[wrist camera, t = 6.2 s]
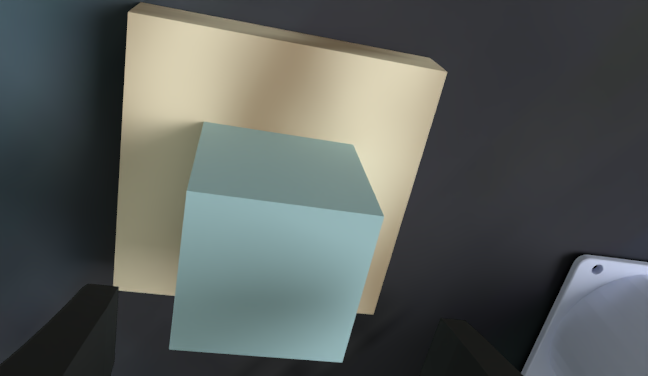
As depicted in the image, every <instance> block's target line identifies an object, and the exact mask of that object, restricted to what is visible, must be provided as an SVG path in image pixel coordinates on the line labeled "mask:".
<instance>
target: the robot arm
mask: <svg viewBox="0 0 648 376" xmlns="http://www.w3.org/2000/svg"><path fill="white" fill-rule="evenodd" d="M596 265H597V267H596V268H594V269H592V268H593V267H594V266H596ZM118 291H119V287H117V286H107V285H97V284H87V285H85V286H84V287H82V288H81V289H80V291H79V292H78V293H77V294H76V295H75V296H74V297H73V298H72V299H71V300H70V301H69V302H68V303H67V304H66V305H65V306H64V307H63V308H62V309H61V310H60V311H59V312H58V313H57V314H56V315H55V316H54V317H53V318H52V319H51V320H50V321H49V322H48V323H47V324H46V325H45V326H43V327H42V328H41V329H40V330H39V331H38V332H37V333H36V334H35V335H34V336H32V337H31V338H30V339H29V340H28V341H27V342H26V343H25V344H24V345H23V346H21V347H20V348H19V349H18V350H17V351H16V352H15V353H14V354H12V355H11V356H10V357H9V358H7V359H6V360H5V361H4V362H3V363H1V364H0V376H111V372H112V368H113V365H114V359H115V342H116V325H117V308H118ZM420 376H648V262H643V261H635V260H627V259H619V258H611V257H603V256H595V255H582V256H579V257H578V258H577V259H575V261H574V262H573V264H572V266H571V268H570V271H569V273H568V275H567V277H566V279H565V281H564V283H563V285H562V287H561V290H560V292H559V294H558V296H557V298H556V300H555V302H554V304H553V306H552V309H551V311H550V313H549V315H548V317H547V319H546V321H545V323H544V325H543V328H542V330H541V332H540V334H539V336H538V338H537V340H536V342H535V344H534V346H533V349H532V351H531V353H530V355H529V357H528V359H527V361H526V363H525V365H524V368H523V370H522V372H521V373H520V372H519V371H518V370H517V369H516V368H515V367H514V366H513V365H512V364H511V363H510V362H509V361H508V360H507V359H506V358H505V357H503V356H502V355H501V354H500V353H499V352H498V351H497V350H496V349H495V348H494V347H493V346H492V345H491V344H490V343H489V342H488V341H487V340H486V339H485V338H484V337H483V336H482V335H481V334H480V333H479V332H477V331H476V330H475V329H474V328H473V327H472V326H471V325H470V324H468V323H467V322H466V321H464V320H454V319H444V318H441V319H440V322H439V324H438V327H437V330H436V332H435V335H434V338H433V340H432V343H431V346H430V349H429V351H428V354H427V357H426V359H425V362H424V365H423V367H422V370H421V373H420Z"/></svg>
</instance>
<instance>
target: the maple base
mask: <svg viewBox="0 0 648 376" xmlns="http://www.w3.org/2000/svg"><path fill="white" fill-rule="evenodd" d="M446 75H447V71H445V70H444V69H443V68H442V67H441V66H439V65H438V64H437V63H436V62H434V61H433V60H432V59H431V58H428V57H422V56H417V55H412V54H407V53H402V52H396V51H391V50H386V49H381V48H376V47H371V46H365V45H360V44H355V43H350V42H345V41H339V40H334V39H329V38H324V37H319V36H313V35H308V34H303V33H298V32H293V31H288V30H282V29H277V28H272V27H267V26H262V25H256V24H251V23H246V22H241V21H236V20H230V19H225V18H220V17H215V16H210V15H205V14H199V13H194V12H189V11H184V10H179V9H173V8H168V7H163V6H158V5H153V4H147V3H142V2H140V3H139V4H138V5H136V6H135V7H134V8H132V9H131V10H130V11H128V21H127V40H126V58H125V77H124V95H123V114H122V132H121V151H120V169H119V188H118V206H117V225H116V243H115V262H114V280H113V286H117V287H119V291H130V292H140V293H151V294H161V295H172V296H175V291H176V282H177V273H178V264H179V255H180V246H181V237H182V228H183V219H184V210H185V201H186V192H187V187H188V183H189V179H190V175H191V171H192V167H193V163H194V159H195V155H196V151H197V147H198V143H199V139H200V135H201V131H202V127H203V123H204V122H210V123H216V124H223V125H229V126H236V127H242V128H249V129H255V130H261V131H268V132H274V133H281V134H287V135H294V136H300V137H307V138H313V139H320V140H326V141H333V142H339V143H346V144H352V145H353V146H354V148H355V150H356V152H357V155H358V157H359V159H360V162H361V164H362V166H363V169H364V171H365V173H366V176H367V178H368V180H369V182H370V185H371V187H372V189H373V192H374V194H375V196H376V199H377V201H378V203H379V206H380V208H381V210H382V212H383V215H384V219H383V223H382V226H381V230H380V233H379V237H378V240H377V243H376V247H375V250H374V254H373V257H372V261H371V264H370V268H369V271H368V275H367V278H366V282H365V285H364V289H363V292H362V296H361V299H360V303H359V306H358V310H357V313H362V314H374V310H375V307H376V304H377V301H378V297H379V294H380V291H381V288H382V284H383V281H384V278H385V274H386V271H387V268H388V265H389V261H390V258H391V255H392V252H393V248H394V245H395V242H396V238H397V235H398V232H399V229H400V225H401V222H402V219H403V216H404V212H405V209H406V206H407V202H408V199H409V196H410V193H411V189H412V186H413V183H414V180H415V176H416V173H417V170H418V166H419V163H420V160H421V157H422V153H423V150H424V147H425V144H426V140H427V137H428V134H429V130H430V127H431V124H432V121H433V117H434V114H435V111H436V108H437V104H438V101H439V98H440V94H441V91H442V88H443V85H444V81H445V78H446Z"/></svg>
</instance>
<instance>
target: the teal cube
mask: <svg viewBox="0 0 648 376" xmlns="http://www.w3.org/2000/svg"><path fill="white" fill-rule="evenodd" d="M383 219H384V215H383V212H382V210H381V208H380V206H379V203H378V201H377V199H376V196H375V194H374V192H373V189H372V187H371V185H370V182H369V180H368V178H367V176H366V173H365V171H364V169H363V166H362V164H361V162H360V159H359V157H358V155H357V152H356V150H355V148H354V146H353V145H352V144H346V143H339V142H333V141H326V140H320V139H313V138H307V137H300V136H294V135H287V134H281V133H274V132H268V131H261V130H255V129H249V128H242V127H236V126H229V125H223V124H216V123H210V122H204V123H203V127H202V131H201V135H200V139H199V143H198V147H197V151H196V155H195V159H194V163H193V167H192V171H191V175H190V179H189V183H188V187H187V192H186V201H185V210H184V219H183V228H182V237H181V246H180V255H179V264H178V273H177V282H176V291H175V300H174V309H173V318H172V327H171V336H170V345H169V350H182V351H195V352H209V353H222V354H235V355H249V356H262V357H275V358H288V359H302V360H315V361H328V362H343V358H344V355H345V351H346V348H347V344H348V341H349V337H350V334H351V330H352V327H353V323H354V320H355V317H356V313H357V310H358V306H359V303H360V299H361V296H362V292H363V289H364V285H365V282H366V278H367V275H368V271H369V268H370V264H371V261H372V257H373V254H374V250H375V247H376V243H377V240H378V237H379V233H380V230H381V226H382V223H383Z"/></svg>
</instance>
